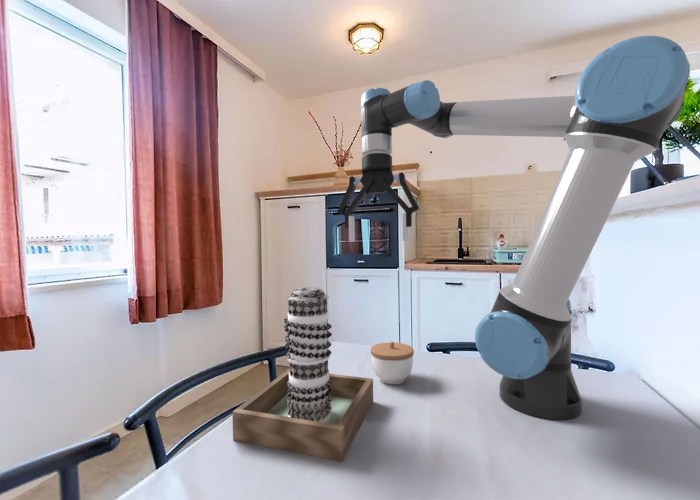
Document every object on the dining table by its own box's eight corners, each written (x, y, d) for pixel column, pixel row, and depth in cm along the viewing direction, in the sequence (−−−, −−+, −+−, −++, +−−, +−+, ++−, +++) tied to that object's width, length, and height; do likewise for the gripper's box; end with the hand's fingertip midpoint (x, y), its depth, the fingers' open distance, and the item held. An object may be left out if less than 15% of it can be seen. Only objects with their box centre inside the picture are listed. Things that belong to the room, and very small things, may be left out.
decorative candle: (276, 417, 64) (273, 289, 64) (313, 400, 71) (311, 285, 70) (305, 435, 58) (302, 294, 57) (342, 415, 64) (340, 288, 64)
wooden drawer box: (373, 401, 71) (372, 378, 71) (342, 461, 52) (341, 430, 52) (288, 390, 77) (288, 369, 77) (233, 439, 58) (232, 411, 58)
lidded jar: (413, 390, 76) (413, 350, 76) (368, 386, 79) (367, 347, 78) (414, 372, 87) (413, 337, 87) (374, 369, 89) (373, 335, 89)
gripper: (429, 154, 81) (430, 240, 82) (334, 163, 89) (336, 242, 89) (426, 146, 74) (427, 240, 75) (324, 156, 82) (325, 242, 82)
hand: (377, 241), depth 82 cm, fingers open, 13 cm apart
